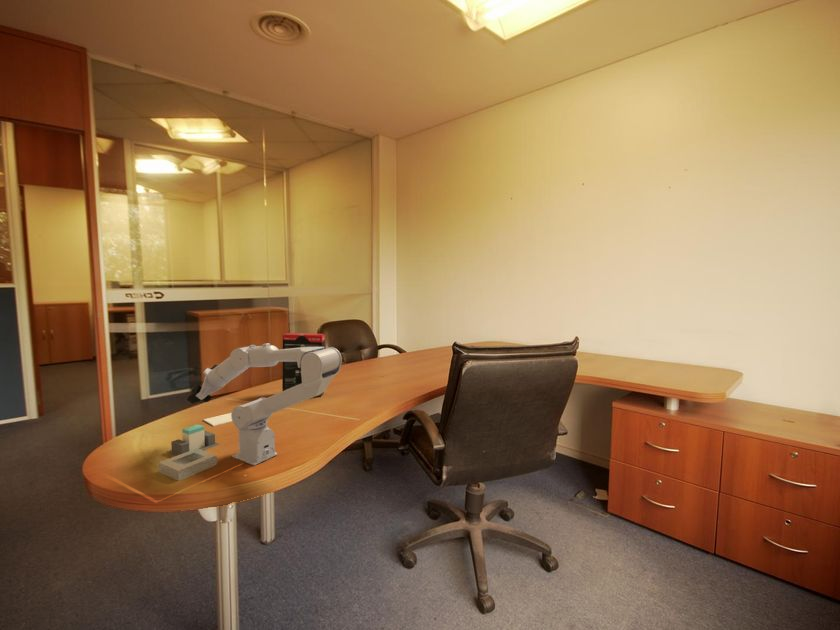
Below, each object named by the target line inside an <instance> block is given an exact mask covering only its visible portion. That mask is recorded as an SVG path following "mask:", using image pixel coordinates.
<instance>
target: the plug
mask: <svg viewBox="0 0 840 630" xmlns="http://www.w3.org/2000/svg"><path fill="white" fill-rule="evenodd" d="M204 431H205V426H204V425H202V424H194V425H190V426H189V427H188V426H187V427H184V428H182V431H181V433H182V441H185V442H188V443H189V451H191V450H194V449H197V448H201V447H204V446H205V434H204Z"/></svg>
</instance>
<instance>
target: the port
mask: <svg viewBox="0 0 840 630" xmlns="http://www.w3.org/2000/svg"><path fill="white" fill-rule="evenodd" d="M217 465H218V456H217V454H214V453H212V452H209V451H206V450H204V451H203V450H201V449H198V448H197V449H194V450H191V451H188V452H186V453H183V454H180V455H178V456H176V455H174V456H172V457H170V458H166V459H164V460H161V461H159V462H158V472H159V473H160V474H163V475H165V476H167V477H169V478H171V479H174V480H176V481H178V482H180V481H181V480H184V479H187V478H189V477H191V476H193V475H197V474H199V473H201V472H203V471H205V470H209V469H210V468H213V467H214V466H217Z"/></svg>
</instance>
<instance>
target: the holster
mask: <svg viewBox="0 0 840 630" xmlns="http://www.w3.org/2000/svg"><path fill="white" fill-rule="evenodd" d="M204 434H205V446H204V447H201V448H198V449H201V450H203V451H206V450H208V449H211V448H214V447H216V446H219V445H220V442H219V443H218V442H216V436H215V435H216V434H215V433H213V432H210V431H207V430H204ZM170 443H171V444H170V445H171V449H169V450H167V451H166V453H168V454H171V455H173V456H178V455H180V454H183V453H186V452H188V451H189V443H188V442H185V441H183V439H179V438H178V439H175V440H173V441H171V442H170Z"/></svg>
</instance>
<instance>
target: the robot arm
mask: <svg viewBox="0 0 840 630" xmlns="http://www.w3.org/2000/svg"><path fill="white" fill-rule="evenodd" d="M322 349H323V350H322ZM279 362H280V363H281V362H282V363H283V362H297V364H298V368H301V376H302V383H301V384H299V385H297V386H294V387H292V388H289V389H287V390H285V391H280V392H278V393H275V394H274V395H271V396H269V397H259V398H257V399H255V400H252V401H249V402H247V403H244V404H241V405H237V406H235V407H233V408H232V410H231V413H232V414H231V417H232V423H233V424H234V426H235V427H236V429H238V452H236V453H235V454H232V455H231V457H232V458H233V459H234V458H235V459H237V460H240V461H243V462H244V463H246V464H249V465H252V466H256V465H258V464H260V463H262V462H264V461H267V460H269V459H272V458H274V457H275V456H277V455H278V452H276V444H275V443H276V438H275V437H276V436H275V432H274V430H272V429H271V428H269V426H268V424H267V423H268V422H269V418H271V416H272V415H273V413H277V412H279V411H282V410H285V409H287V408H289V407H292V406H295V405H296V404H300V403H301V402H302V403H303V402H305V401H307V400H310V399H312V398H315V396H317V395H320V394H322V393H323V392H324V393H325V391H326V389H327V388H328V387H329V385H330V383H331V382H332V381H333V380H334V378H335V376H336V375H337V374H338V373H340V372H341V367H342V363H343V357H342V353H341V352H340V351H339V350H338V349H337V348H335V347H333V346H330V347H329V346H328V347H325V346H324V347H301V348H291V349H283V348H282V349H281V348H280V349H279V348H278V347H277V346H275V345H274V344H273V345H272V344H271V343H269V342H268V343H263V344H262V345H256V344H250V345H249V346H243V347H237V348H235V349H233V350H232V351H231V352H230V355H229V356H228V357H227V358H226V359H224V360H223V361H221V362H220V363H219V364H214V365H213V366H212V367H211V368H209V367H207V368H205V370H203V374H204V379H203V381H202V382H201V383H202V385H200V384H199V383H196V384H195V386H194V387H193V388H192V389H191V393H190V395H188V397H187V399H186V400H187V401H188V402H189V403H190V404H191V405H193V404H197V403H200V402H203V403H208V402H209V401H210V400H212V398H213V397H212V396H211V394H213V393H215V392H217V391H219V390H222V389H223V388H224V387H225V386H226V385H227V384H228V383H230V382H231V381H233V380H234V379H236V378H237V377H238V376H240V375H241V374H243V373H244V372H245V371H247V370H248V369H249V368H264V367H265V368H266V367H267V368H269V367H271V368H272V367H275V366H277V365H278V363H279ZM324 393H323V394H324ZM323 394H322V395H323Z"/></svg>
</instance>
